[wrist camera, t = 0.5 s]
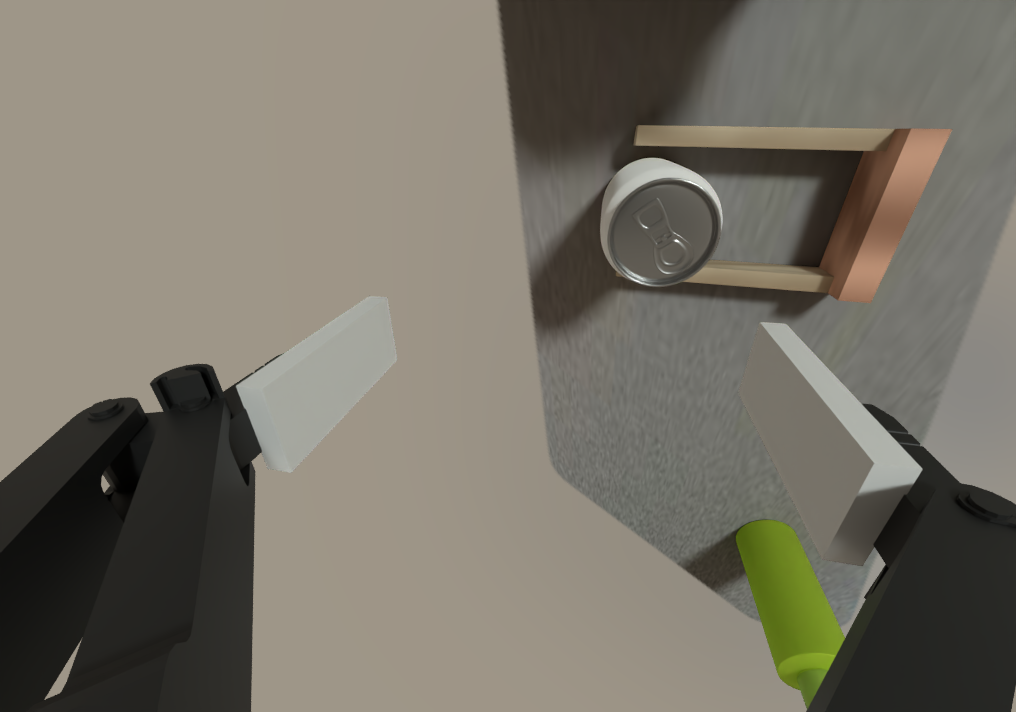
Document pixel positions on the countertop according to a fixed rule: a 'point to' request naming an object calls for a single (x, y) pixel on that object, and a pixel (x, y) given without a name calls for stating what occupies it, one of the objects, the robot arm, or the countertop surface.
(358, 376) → the robot arm
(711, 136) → the guide lane
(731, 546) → the countertop surface
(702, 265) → the can
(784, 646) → the soap dispenser
